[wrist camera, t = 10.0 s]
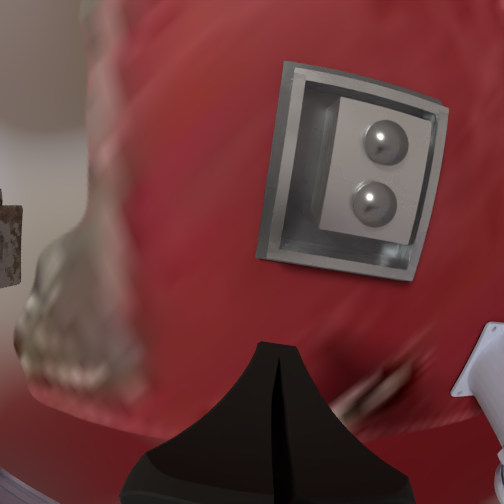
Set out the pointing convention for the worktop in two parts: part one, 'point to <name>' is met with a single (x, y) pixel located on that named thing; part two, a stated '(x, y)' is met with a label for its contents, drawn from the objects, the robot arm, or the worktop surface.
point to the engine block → (370, 171)
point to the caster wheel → (10, 244)
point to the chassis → (305, 169)
